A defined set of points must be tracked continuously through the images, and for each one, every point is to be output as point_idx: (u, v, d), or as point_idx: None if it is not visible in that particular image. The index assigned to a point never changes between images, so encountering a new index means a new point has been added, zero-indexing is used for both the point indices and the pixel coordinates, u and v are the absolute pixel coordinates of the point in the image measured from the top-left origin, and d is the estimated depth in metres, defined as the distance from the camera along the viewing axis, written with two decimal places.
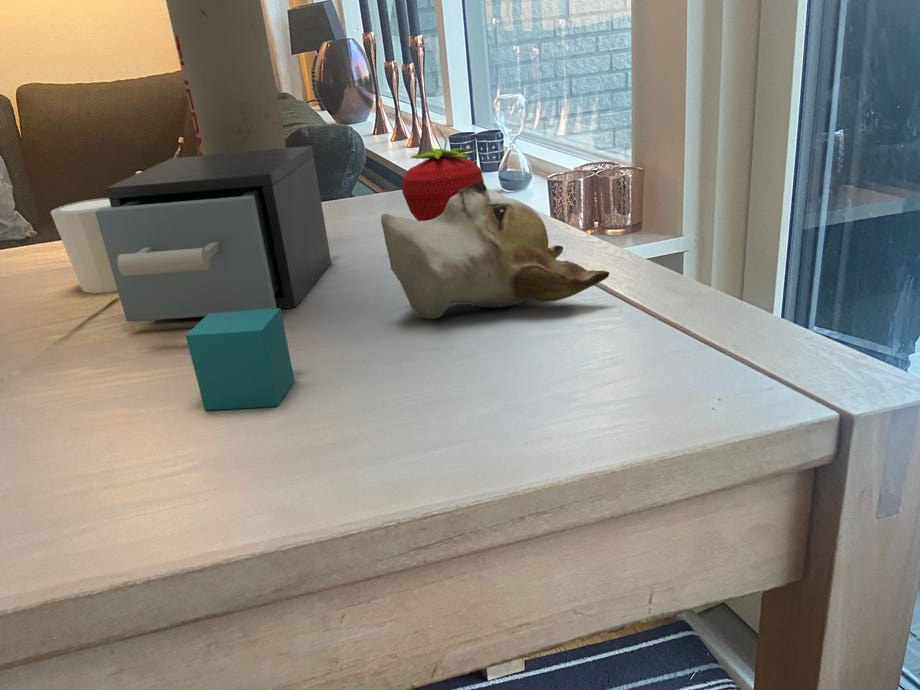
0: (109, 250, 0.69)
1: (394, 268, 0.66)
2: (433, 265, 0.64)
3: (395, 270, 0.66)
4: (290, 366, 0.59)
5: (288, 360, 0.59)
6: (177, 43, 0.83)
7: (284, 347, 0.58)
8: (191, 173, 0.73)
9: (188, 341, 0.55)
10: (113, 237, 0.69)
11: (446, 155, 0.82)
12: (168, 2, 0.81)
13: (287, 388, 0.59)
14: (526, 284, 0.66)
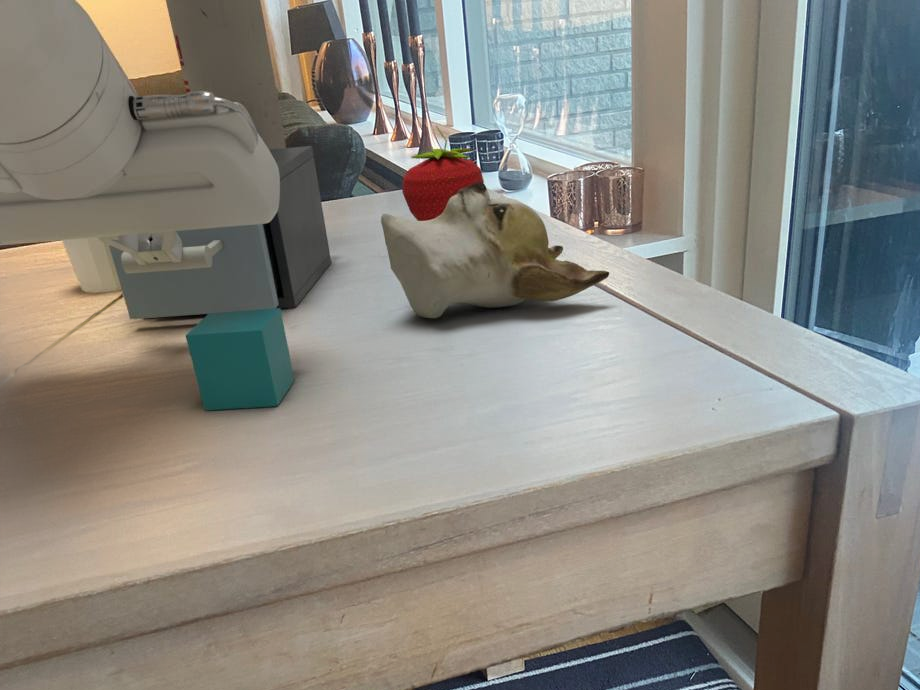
0: (113, 248, 0.70)
1: (394, 268, 0.66)
2: (433, 265, 0.64)
3: (395, 270, 0.66)
4: (290, 366, 0.59)
5: (288, 360, 0.59)
6: (177, 43, 0.83)
7: (284, 347, 0.58)
8: None
9: (188, 341, 0.55)
10: None
11: (446, 155, 0.82)
12: (168, 2, 0.81)
13: (287, 388, 0.59)
14: (526, 284, 0.66)
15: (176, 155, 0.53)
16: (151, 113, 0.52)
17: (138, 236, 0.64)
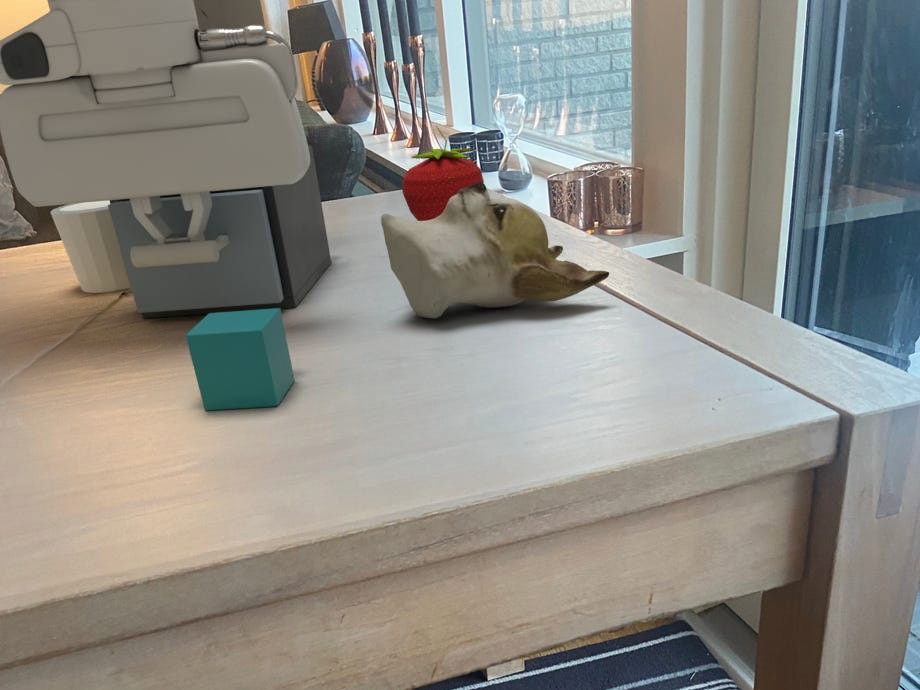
0: (121, 243, 0.71)
1: (394, 268, 0.66)
2: (433, 265, 0.64)
3: (395, 270, 0.66)
4: (290, 366, 0.59)
5: (288, 360, 0.59)
6: None
7: (284, 347, 0.58)
8: None
9: (188, 341, 0.55)
10: (125, 230, 0.71)
11: (446, 155, 0.82)
12: None
13: (287, 388, 0.59)
14: (526, 284, 0.66)
15: (223, 70, 0.61)
16: (211, 36, 0.61)
17: (170, 235, 0.69)
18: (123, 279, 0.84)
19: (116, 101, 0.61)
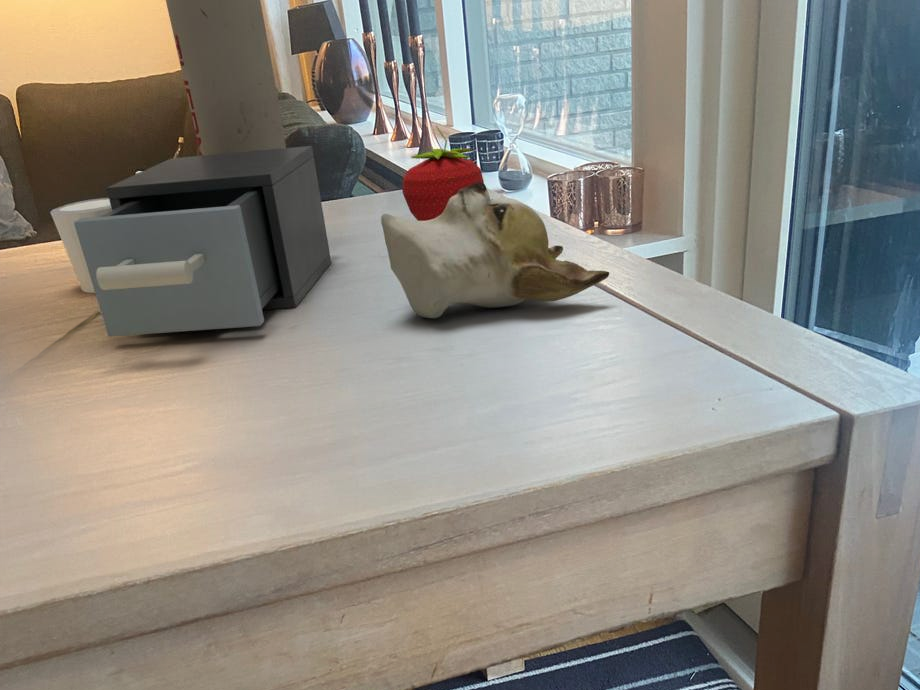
0: (89, 262, 0.66)
1: (394, 268, 0.66)
2: (433, 265, 0.64)
3: (395, 270, 0.66)
4: None
5: None
6: (177, 43, 0.83)
7: None
8: (191, 173, 0.73)
9: None
10: (93, 249, 0.66)
11: (446, 155, 0.82)
12: (168, 2, 0.81)
13: None
14: (526, 284, 0.66)
15: None
16: None
17: None
18: None
19: None
